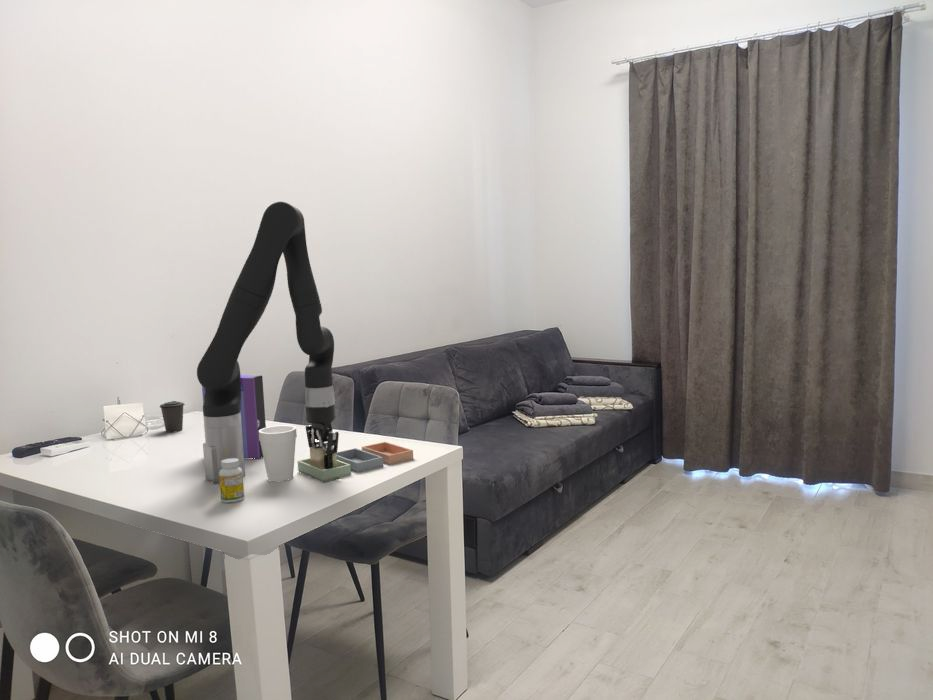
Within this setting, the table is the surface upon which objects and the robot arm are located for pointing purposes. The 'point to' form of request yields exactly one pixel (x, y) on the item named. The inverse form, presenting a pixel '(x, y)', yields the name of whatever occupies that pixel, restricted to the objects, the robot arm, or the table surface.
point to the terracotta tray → (389, 452)
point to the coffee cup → (172, 415)
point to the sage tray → (325, 474)
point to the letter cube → (320, 457)
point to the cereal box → (251, 414)
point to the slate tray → (360, 459)
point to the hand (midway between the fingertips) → (323, 466)
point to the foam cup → (278, 451)
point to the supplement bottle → (231, 481)
